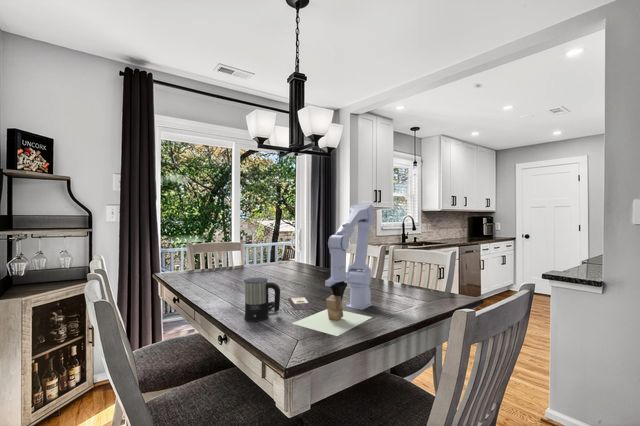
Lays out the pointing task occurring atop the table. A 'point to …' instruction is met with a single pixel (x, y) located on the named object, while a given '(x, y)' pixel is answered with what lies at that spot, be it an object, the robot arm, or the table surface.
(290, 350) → the table surface
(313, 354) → the table surface
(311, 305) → the chocolate bar
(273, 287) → the milk frother
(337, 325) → the sage mat
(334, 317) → the walnut block
